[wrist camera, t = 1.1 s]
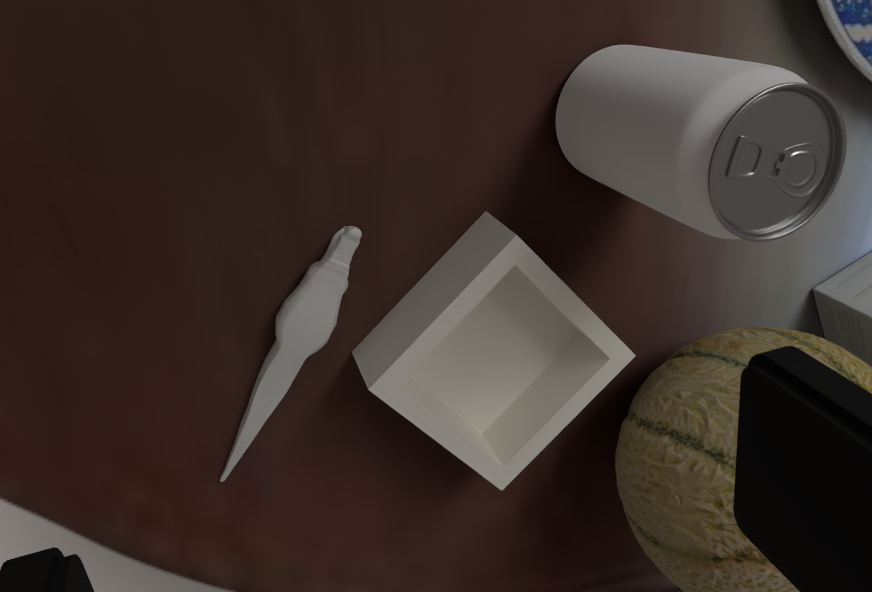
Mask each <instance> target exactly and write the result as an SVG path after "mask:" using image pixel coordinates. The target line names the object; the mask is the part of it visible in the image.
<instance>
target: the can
mask: <svg viewBox="0 0 872 592" xmlns="http://www.w3.org/2000/svg"><path fill="white" fill-rule="evenodd" d="M556 133H557V138H558V142H559V145H560V147H561V150H562V152H563V154H564V155H565V157H566V158H567V160H568V161H569V162H570V163H571V164H572V165H573V166H574V167H575V168H576V169H577V170H579V171H580V172H581V173H583V174H585V175H587V176H588V177H590V178H592V179H594V180H596V181H598V182H600V183H602V184H604V185H606V186H608V187H610V188H612V189H614V190H616V191H618V192H620V193H622V194H624V195H626V196H628V197H630V198H632V199H634V200H636V201H638V202H640V203H642V204H644V205H646V206H648V207H651V208H653V209H655V210H657V211H659V212H661V213H663V214H665V215H667V216H669V217H671V218H673V219H675V220H677V221H679V222H681V223H683V224H686V225H688V226H690V227H692V228H694V229H696V230H698V231H701V232H703V233H705V234H708V235H711V236H714V237H718V238H723V239H745V240H750V241H770V240H775V239H779V238H782V237H784V236H787V235H789V234H791V233H793V232H794V231H796V230H798V229H799V228H801V227H802V226H804V225H805V224H806V223H807V222H809V221H810V220H811V219H812V218H813V217H814V216H815V215H816V214H817V213H818V212H819V211H820V209H821V208H822V207H823V206H824V204H825V203H826V202H827V200H828V199H829V197H830V196H831V194H832V192H833V190H834V189H835V187H836V185H837V182H838V180H839V178H840V175H841V172H842V169H843V165H844V161H845V155H846V144H847V140H846V129H845V124H844V120H843V117H842V114H841V112H840V110H839V108H838V106H837V105H836V103H835V102H834V101H833V99H832V98H831V97H830V96H829V95H828V94H827V93H825V92H824V91H823V90H821V89H819V88H817V87H815V86H813V85H810V84H808V83H807V82H806V81H804V80H803V79H802V78H801V77H799V76H798V75H796V74H795V73H793V72H791V71H789V70H786V69H783V68H780V67H776V66H771V65H766V64H761V63H754V62H748V61H742V60H735V59H728V58H722V57H715V56H708V55H701V54H694V53H687V52H680V51H673V50H666V49H659V48H652V47H644V46H636V45H615V46H610V47H607V48H604V49H602V50H599V51H597V52H595V53H594V54H592V55H590V56H589V57H588V58H586V59H585V60H584V61H583V62H582V63H581V64H580V65H579V66H578V67H577V68H576V69H575V70H574V71H573V73H572V74H571V75H570V77H569V78H568V80H567V82H566V83H565V85H564V87H563V89H562V92H561V94H560V97H559V101H558V105H557V110H556Z"/></svg>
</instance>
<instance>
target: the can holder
mask: <svg viewBox="0 0 872 592" xmlns="http://www.w3.org/2000/svg"><path fill="white" fill-rule="evenodd" d="M352 354H353V356H354V358H355V361H356V363H357V365H358V367H359V370H360V372H361V374H362V377H363V379H364V381H365V383H366V386H367V388H368V390H369V391H371V392H372V393H373V394H375V395H376V396H377V397H379V398H380V399H381V400H382V401H384V402H385V403H386V404H388V405H389V406H390V407H392V408H393V409H394V410H396V411H397V412H398V413H400V414H401V415H402V416H404V417H405V418H406V419H408V420H409V421H410V422H412V423H413V424H414V425H416V426H417V427H418V428H419V429H421V430H422V431H423V432H425V433H426V434H427V435H429V436H430V437H431V438H433V439H434V440H435V441H437V442H438V443H439V444H441V445H442V446H443V447H445V448H446V449H447V450H449V451H450V452H451V453H453V454H454V455H455V456H456V457H458V458H459V459H460V460H462V461H463V462H464V463H466V464H467V465H468V466H470V467H471V468H472V469H474V470H475V471H476V472H478V473H479V474H480V475H482V476H483V477H484V478H486V479H487V480H488V481H489V482H491V483H492V484H493V485H495V486H496V487H497V488H499V489H500V490H501V491H502V490H503V489H504V488H505V487H506V486H507V485H508V484H509V483H510V482H511V481H512V480H513V479H514V478H515V477H516V476H517V475H518V474H519V473H520V472H521V471H522V470H523V469H524V468H525V467H526V466H527V465H528V464H529V463H530V462H531V461H532V460H533V459H534V458H535V457H536V456H537V455H538V454H539V453H540V452H541V451H542V450H543V449H544V448H545V447H546V446H547V445H548V444H549V443H550V442H551V441H552V440H553V439H554V438H555V437H556V436H557V435H558V434H559V433H560V432H561V431H562V430H563V429H564V428H565V427H566V426H567V425H568V424H569V423H570V422H571V421H572V420H573V419H574V418H575V417H576V416H577V415H578V414H579V413H580V412H581V411H582V410H583V408H584V407H585V406H586V405H587V404H588V403H589V402H590V401H591V400H592V399H593V398H594V397H595V396H596V395H597V394H598V393H599V392H600V391H601V390H602V389H603V388H604V387H605V386H606V385H607V384H608V383H609V382H610V381H611V380H612V379H613V378H614V377H615V376H616V375H617V374H618V373H619V372H620V371H621V370H622V369H623V368H624V367H625V366H626V365H627V364H628V363H629V362H630V361H631V360H632V359H633V358H634V357H635V356H636V355H635V354H634V353H633V352H632V351H631V350H630V349H629V348H628V347H627V346H626V345H625V344H624V343H623V342H622V341H621V340H620V339H619V338H618V337H617V336H616V335H615V334H614V333H613V332H612V331H611V330H610V329H609V328H608V327H607V326H606V325H605V324H604V323H603V322H602V321H601V320H600V319H599V318H598V317H597V316H596V315H595V314H594V313H593V312H592V311H591V310H590V309H589V308H588V307H587V306H586V305H585V304H584V303H583V302H582V301H581V300H580V298H579V297H578V296H577V295H576V294H575V293H574V292H573V291H572V290H571V289H570V288H569V287H568V286H567V285H566V284H565V283H564V282H563V281H562V280H561V279H560V278H559V277H558V276H557V275H556V274H555V273H554V272H553V271H552V270H551V269H550V268H549V267H548V266H547V265H546V264H545V263H544V262H543V261H542V260H541V259H540V258H539V257H538V256H537V255H536V254H535V253H534V252H533V251H532V250H531V249H530V248H529V247H528V246H527V245H526V244H525V243H524V242H523V241H522V240H521V239H520V238H519V237H518V236H517V235H516V234H515V233H514V232H512V231H511V230H510V229H509V228H507V227H506V226H505V225H503V224H502V223H501V222H500V221H498V220H497V219H496V218H494V217H493V216H492V215H490V214H489V213H488V212H487V211H485V212H484V213H483V214H482V215H481V216H480V218H479V219H478V220H477V221H476V222H475V223H474V224H473V225H472V226H471V227H470V228H469V229H468V230H467V231H466V232H465V233H464V234H463V235H462V236H461V237H460V239H459V240H458V241H457V242H456V243H455V244H454V245H453V246H452V247H451V248H450V249H449V250H448V251H447V252H446V253H445V254H444V255H443V256H442V257H441V258H440V260H439V261H438V262H437V263H436V264H435V265H434V266H433V267H432V268H431V269H430V270H429V271H428V272H427V273H426V274H425V275H424V276H423V277H422V278H421V279H420V281H419V282H418V283H417V284H416V285H415V286H414V287H413V288H412V289H411V290H410V291H409V292H408V293H407V294H406V295H405V296H404V297H403V298H402V299H401V300H400V301H399V303H398V304H397V305H396V306H395V307H394V308H393V309H392V310H391V311H390V312H389V313H388V314H387V315H386V316H385V317H384V318H383V319H382V320H381V321H380V322H379V324H378V325H377V326H376V327H375V328H374V329H373V330H372V331H371V332H370V333H369V334H368V335H367V336H366V337H365V338H364V339H363V340H362V341H361V342H360V343H359V345H358V346H357V347H356V348H355V349H354V350H353V351H352Z"/></svg>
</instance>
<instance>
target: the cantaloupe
mask: <svg viewBox="0 0 872 592" xmlns="http://www.w3.org/2000/svg"><path fill="white" fill-rule="evenodd" d="M785 346H794V347H796V348H799V349H800V350H802V351H804V352H805V353H807V354H809V355H810V356H812V357H813V358H815V359H817V360H818V361H820V362H821V363H823V364H825V365H826V366H828V367H829V368H831V369H833V370H834V371H836V372H838V373H839V374H841V375H842V376H844V377H846V378H847V379H849V380H850V381H852V382H854V383H855V384H857V385H859V386H860V387H862V388H863V389H865V390H867V391H868V392H870V393H871V394H872V367H871V366H869V365H868V364H867V363H865V362H864V361H862V360H861V359H859V358H858V357H856V356H855V355H853V354H852V353H850V352H849V351H847V350H846V349H844V348H842V347H841V346H839V345H836V344H834V343H832V342H830V341H828V340H826V339H823V338H821V337H817V336H815V335H813V334H809V333H805V332H801V331H796V330H790V329H784V328H777V327H754V328H735V329H730V330H725V331H720V332H716V333H713V334H711V335H708V336H705V337H703V338H700V339H698V340H695V341H693V342H691V343H689V344H687V345H685V346H684V347H683V348H681V349H680V350H678V351H676V352H674V353H673V354H672V355H671V356H670V357H669V358H668V359H667V360H666V361H665V363H664V364H662V365H661V366H659V367H658V368H657V369H655V370H654V371H653V372H652V373H651V374H650V375H649V376H648V377H647V379H646V380H645V381H644V383H643V384H642V385H641V386H640V388H639V391H638V392H637V394H636V395H635V396H634V398H633V401H632V403H631V406H630V409H629V412H628V416H627V418H626V419H625V420H624V421H623V423H622V424H621V430H620V433H619V439H618V444H617V448H616V455H615V460H616V464H615V469H616V477H617V488H618V492H619V496H620V499H621V501H622V503H623V507H624V511H625V514H626V517H627V519H628V522H629V525H630V527H631V529H632V531H633V533H634V535H635V537H636V539H637V541H638V542H639V544H640V545H641V547H642V548H643V550H644V552H645V554H646V555H647V556H648V557H649V558H650V559H651V560H652V561H653V563H654V564H655V565H656V566H657V567H658V568H659V569H660V571H661V572H662V573H663V574H665V575H666V576H667V577H668V579H669V580H670V581H671V582H673V583H674V584H675V585H676V586H678V587H679V588H681V590H682V591H684V592H799V590H798V589H797V588H796V587H795V586H794V585H793V584H792V583H791V582H790V581H789V580H788V579H787V578H786V577H785V576H784V575H783V574H782V573H781V572H780V571H779V570H778V569H777V568H776V567H775V566H774V565H773V564H772V563H771V562H770V561H769V560H768V559H767V558H766V557H765V556H764V555H763V554H762V553H761V552H760V551H759V550H758V549H757V548H756V547H755V546H754V545H753V544H752V543H751V542H750V541H749V540H748V538H747V537H746V536H745V535H744V534H743V533H742V532H741V530H740V529H739V527H738V525H737V523H736V520H735V517H734V511H733V505H734V487H735V469H736V452H737V434H738V416H739V398H740V380H741V373H742V371H743V370H744V369H745V368H746V367H748V363H749V361H750V359H751V357H753V356H754V355H756V354H759V353H763V352H766V351H770V350H774V349H777V348H781V347H785Z"/></svg>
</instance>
